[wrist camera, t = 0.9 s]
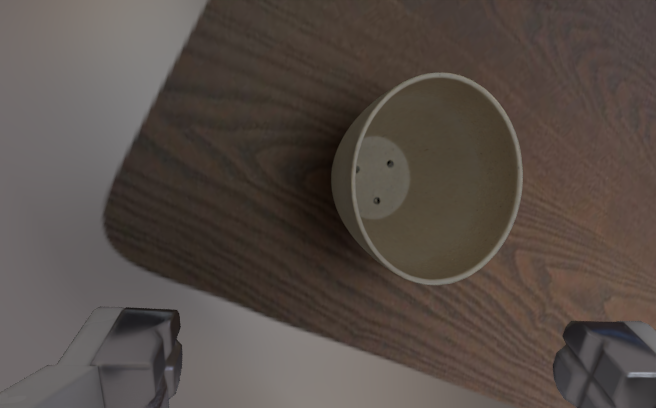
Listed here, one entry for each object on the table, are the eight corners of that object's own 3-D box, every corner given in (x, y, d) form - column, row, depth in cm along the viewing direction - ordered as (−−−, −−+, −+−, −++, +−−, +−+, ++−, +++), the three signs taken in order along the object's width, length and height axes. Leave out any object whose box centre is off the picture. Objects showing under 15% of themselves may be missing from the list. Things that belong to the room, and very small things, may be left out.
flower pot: (461, 169, 31) (552, 170, 24) (375, 288, 29) (450, 324, 22) (365, 58, 27) (442, 24, 21) (258, 185, 25) (307, 193, 18)
